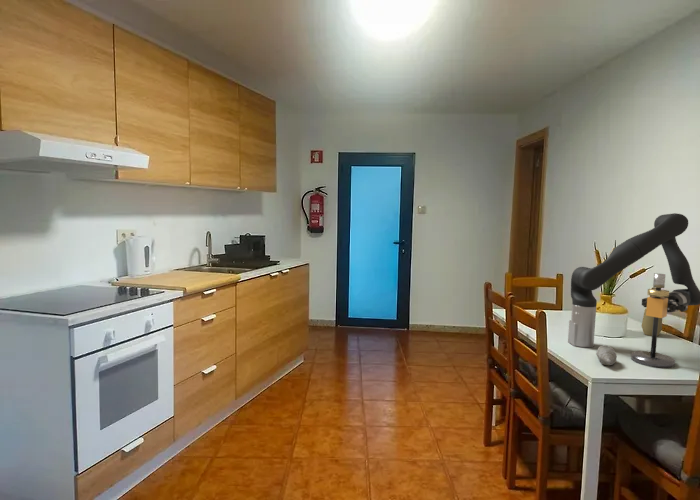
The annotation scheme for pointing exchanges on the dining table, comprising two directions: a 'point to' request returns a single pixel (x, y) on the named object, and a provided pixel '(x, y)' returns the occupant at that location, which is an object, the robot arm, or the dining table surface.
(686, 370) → the dining table surface
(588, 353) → the dining table surface
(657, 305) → the sleeve
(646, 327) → the squeeze bottle
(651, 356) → the post
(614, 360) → the grey stone
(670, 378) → the dining table surface
